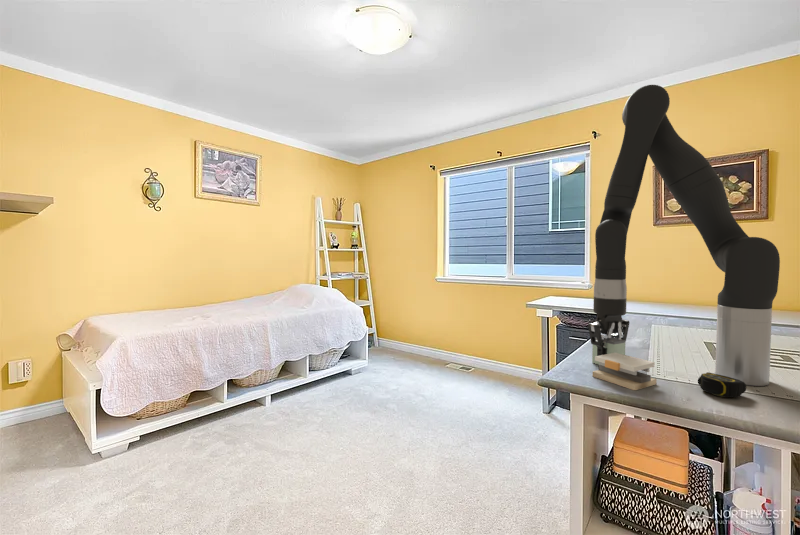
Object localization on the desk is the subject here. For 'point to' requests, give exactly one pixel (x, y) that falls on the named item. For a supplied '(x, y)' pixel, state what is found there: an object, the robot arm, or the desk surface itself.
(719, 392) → the tape measure
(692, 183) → the robot arm
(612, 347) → the block
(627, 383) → the rail stand
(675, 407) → the desk surface
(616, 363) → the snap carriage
